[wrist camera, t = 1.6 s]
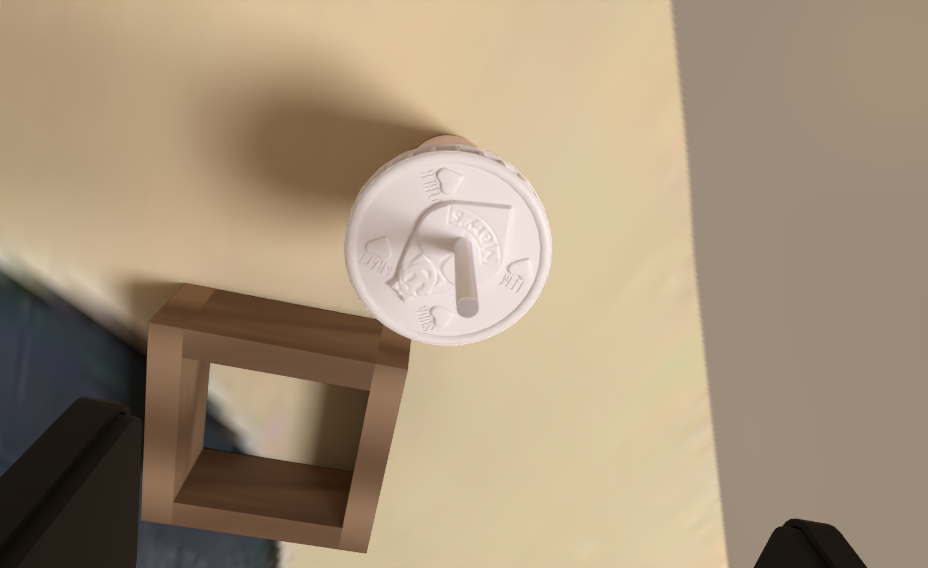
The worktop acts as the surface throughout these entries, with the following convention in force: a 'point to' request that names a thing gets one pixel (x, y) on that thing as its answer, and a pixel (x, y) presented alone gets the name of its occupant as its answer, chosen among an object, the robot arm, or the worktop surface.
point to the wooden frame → (254, 478)
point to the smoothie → (448, 243)
